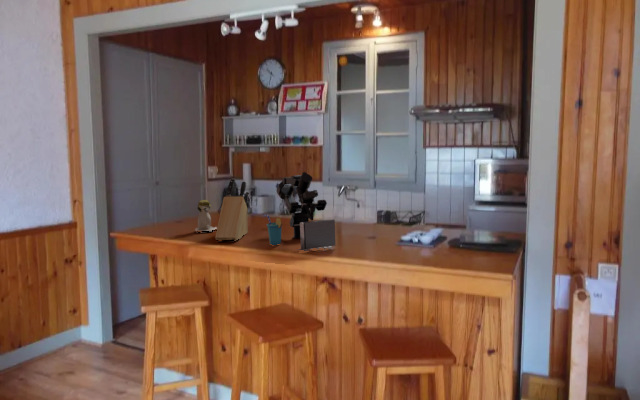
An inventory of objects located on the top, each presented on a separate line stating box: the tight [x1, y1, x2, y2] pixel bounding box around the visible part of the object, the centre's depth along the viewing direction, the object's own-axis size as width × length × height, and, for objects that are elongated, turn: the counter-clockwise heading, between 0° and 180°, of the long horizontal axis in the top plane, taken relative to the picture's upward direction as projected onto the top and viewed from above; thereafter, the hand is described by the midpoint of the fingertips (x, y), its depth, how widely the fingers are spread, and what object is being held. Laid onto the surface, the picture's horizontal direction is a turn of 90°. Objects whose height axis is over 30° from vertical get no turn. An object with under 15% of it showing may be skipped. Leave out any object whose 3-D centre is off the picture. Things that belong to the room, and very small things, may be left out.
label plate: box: [317, 246, 335, 250], centre depth 228 cm, size 8×11×1 cm
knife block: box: [214, 178, 251, 242], centre depth 262 cm, size 11×35×31 cm, turn 174°
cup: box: [261, 214, 283, 245], centre depth 239 cm, size 14×8×15 cm, turn 52°
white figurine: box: [194, 199, 217, 232], centre depth 280 cm, size 12×13×18 cm
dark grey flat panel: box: [300, 218, 336, 250], centre depth 225 cm, size 2×17×12 cm, turn 112°
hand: (312, 219), depth 234 cm, fingers closed
